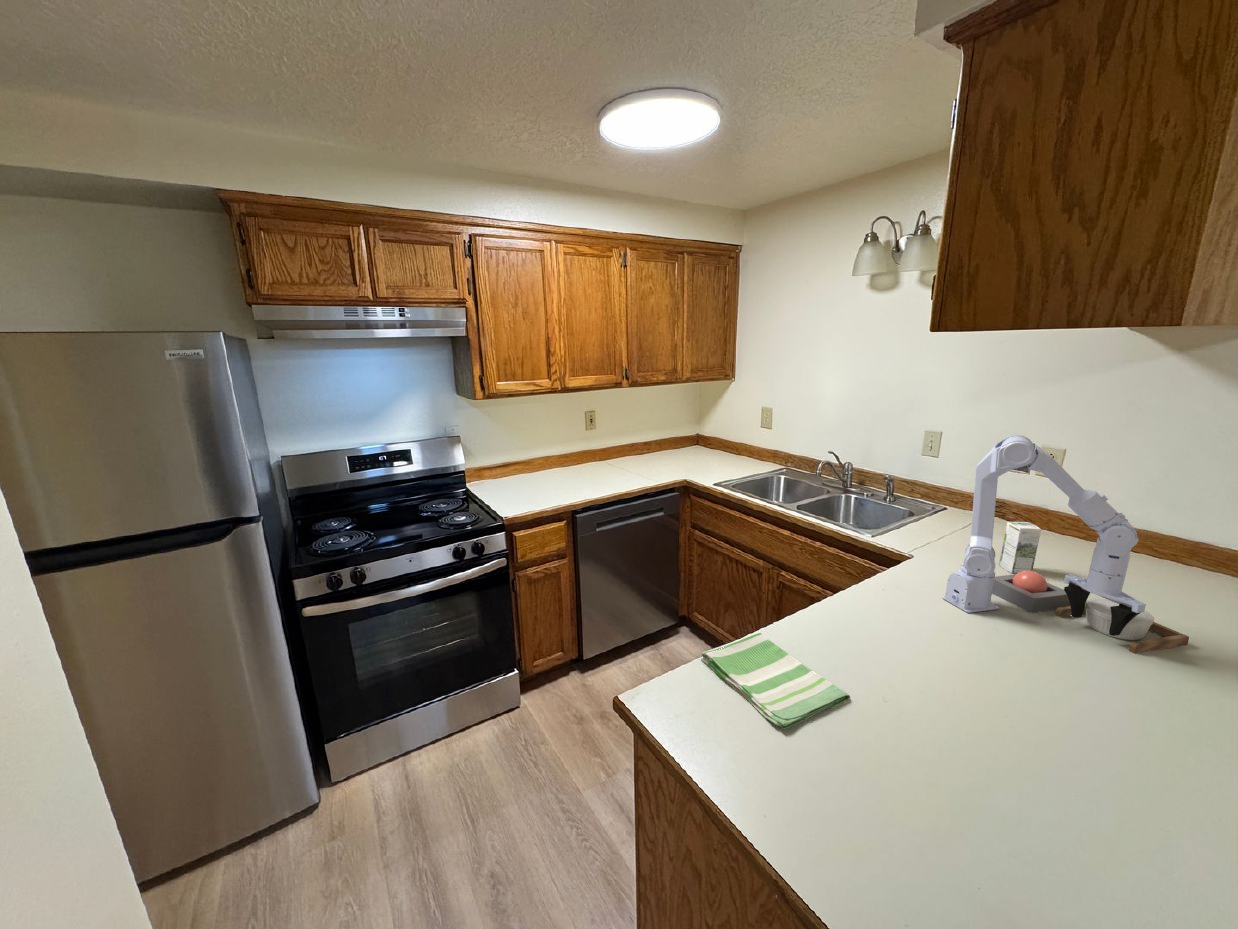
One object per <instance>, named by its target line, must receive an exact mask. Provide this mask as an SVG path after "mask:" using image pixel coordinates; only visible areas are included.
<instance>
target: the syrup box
mask: <svg viewBox="0 0 1238 929" xmlns="http://www.w3.org/2000/svg"><path fill="white" fill-rule="evenodd" d="M1004 532H1005V533H1004V538H1003V543H1002V547H1001V552H1000V558H999V563H998V565H999V567H1001V568H1002V569H1004V570H1005V571H1007V572H1008V573H1010V574H1013V575H1014V574H1017V573H1019V572H1021V571H1033V569H1034V565H1035V561H1036V556H1037V551H1038V548H1039V543H1040V537H1041V533H1042V529H1041V528H1040V527H1039V526H1037V525H1036V524H1033V523H1031V522H1027V521H1006V527H1005V531H1004Z"/></svg>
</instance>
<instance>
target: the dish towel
mask: <svg viewBox="0 0 1238 929" xmlns="http://www.w3.org/2000/svg"><path fill="white" fill-rule="evenodd" d="M723 647H724V648H723ZM721 648H722V649H721ZM719 649H720V650H719ZM716 650H717V651H716ZM714 651H715V652H714ZM701 657H702V658H701V659H700V661H701V662H703V663H705V664H706V665H707V666H708V668H709V669H711V670H712V672H714V673H715V674H717V675H718V676H719V677H720V678H721V679H722V680H724V681H725V682H726V684H728V685H730V686H731V688H733V689H734V691H736V692H737V693H738V694H739V695H740V696H741V697H743V698H744V699H746V700H747V701H748V702H749V703H750V704H751V705H752V706H753V708H755V709H756V711H758V712H759V713H760V714H761V715H762V716H763V717H764V718H765V719H767V720H768V721H770V722H771V723H772V724H774V725H776V726H777V727H780V728H781V729H782V730H784V731H785V730H787V729H789V728H792V727H793V726H796V725H798V724H800V723H802V722H804V721H806V720H808V719H809V718H811V717H814V716H815V715H817V714H818V713H821V712H823V711H824V710H826V709H827V708H829V707H831V708H830V709H833V708H835V707H837V706H839V705H841V704H844V703H846V702H848V701H849V700H850V698H851V695H850V694H849V693H847V692H846V691H844V690H843V689H841V688H840V687H838V686H837V685H835V684H833V683H831V682H830V681H829V680H828V679H826V678H824V677H822V676H821V675H820V674H818V673H816V672H815V671H813V670H812V669H811V668H808V666H806V665H804V664H803V663H801V662H800V661H799V660H797V659H796V658H794V657H793V656H791V654H789V653H788V652H786V650H784V649H782V648H781V647H780V646H778V645H777V644H776V643H774V642H773V641H772V640H770V639H769V638H767V637H766V636H765V635H763V633H761V632H760V631H757V632H754V633H753V634H750V635H748V636H744V637H742V638H740V639H737V640H734V641H731V642H729V643H726V644H723V645H720V646H718V647H714V648H712V649H709V650H705V651H703V652H702V653H701Z"/></svg>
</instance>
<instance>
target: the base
mask: <svg viewBox="0 0 1238 929" xmlns="http://www.w3.org/2000/svg"><path fill="white" fill-rule="evenodd" d="M1015 575H1016V574H1014V573H1013V574H1006V575H1005V574H1004V575H998V576H996V575H995V579H994V584H993V590H992V595H993V596H994V595H995V596H996V597H999V598H1000V599H1002V600H1004V601H1006V602H1008V603H1010V604H1012V605H1014V606H1016V607H1018V608H1020V609H1021V610H1024V611H1026V612H1028V613H1030V614H1035V613H1042V612H1050V611H1057V608H1060V607H1067V606H1070V602H1069V599H1068V597H1067V594H1066V592H1065V591H1064V588H1061V587H1059V586H1056V585H1054V584H1051V583H1050V582H1047V586H1048V587H1047V591H1046V592H1040V593H1030V592H1028V591H1026V590H1024V589H1022V588H1019V587H1017V586H1015V585H1013V578H1014V576H1015Z"/></svg>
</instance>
